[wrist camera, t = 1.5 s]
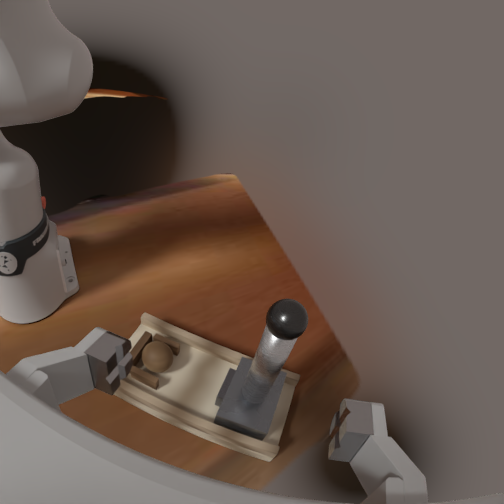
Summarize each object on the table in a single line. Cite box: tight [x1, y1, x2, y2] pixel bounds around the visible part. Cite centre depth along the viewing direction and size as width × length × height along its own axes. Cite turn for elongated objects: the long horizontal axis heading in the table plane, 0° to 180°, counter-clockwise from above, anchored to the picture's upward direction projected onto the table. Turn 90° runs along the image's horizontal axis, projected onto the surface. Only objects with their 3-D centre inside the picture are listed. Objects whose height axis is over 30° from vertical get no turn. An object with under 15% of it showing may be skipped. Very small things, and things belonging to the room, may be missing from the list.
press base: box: [114, 312, 300, 462], centre depth 37 cm, size 23×12×4 cm, turn 73°
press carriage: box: [214, 299, 308, 441], centre depth 31 cm, size 7×9×18 cm
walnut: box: [142, 341, 173, 373], centre depth 37 cm, size 4×4×4 cm
